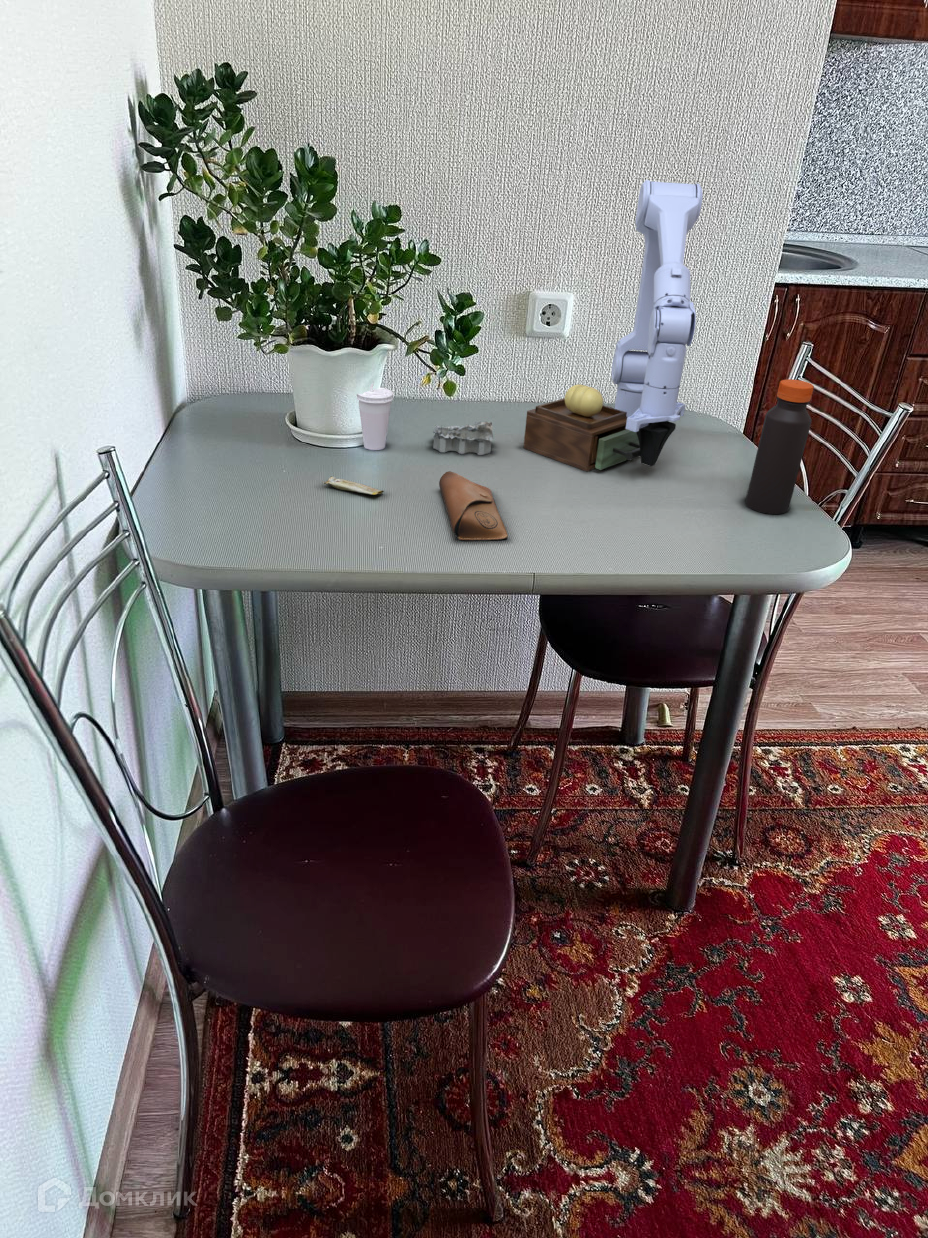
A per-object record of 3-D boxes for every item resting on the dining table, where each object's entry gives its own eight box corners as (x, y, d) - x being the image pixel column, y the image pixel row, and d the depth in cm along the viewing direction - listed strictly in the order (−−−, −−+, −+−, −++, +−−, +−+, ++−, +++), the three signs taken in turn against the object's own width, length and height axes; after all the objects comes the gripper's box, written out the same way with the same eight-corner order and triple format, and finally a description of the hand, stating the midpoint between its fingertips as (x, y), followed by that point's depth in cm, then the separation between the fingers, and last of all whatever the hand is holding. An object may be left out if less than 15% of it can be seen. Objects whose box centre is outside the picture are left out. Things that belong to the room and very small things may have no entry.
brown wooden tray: (572, 400, 165) (573, 395, 165) (626, 417, 159) (627, 412, 158) (535, 411, 159) (535, 406, 158) (589, 429, 152) (590, 424, 151)
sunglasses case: (512, 537, 128) (491, 500, 125) (469, 560, 129) (447, 524, 126) (490, 488, 144) (471, 453, 140) (451, 509, 144) (432, 475, 141)
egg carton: (493, 443, 164) (495, 421, 162) (490, 457, 157) (492, 435, 155) (435, 437, 164) (436, 415, 162) (429, 451, 158) (430, 429, 156)
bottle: (788, 502, 147) (820, 381, 137) (787, 518, 142) (820, 392, 131) (746, 495, 149) (774, 374, 139) (743, 510, 143) (772, 385, 133)
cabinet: (628, 455, 162) (634, 418, 158) (587, 471, 154) (592, 432, 150) (565, 434, 170) (570, 398, 167) (523, 448, 162) (526, 410, 159)
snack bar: (384, 489, 140) (376, 489, 137) (383, 499, 140) (374, 499, 138) (332, 475, 143) (322, 475, 140) (330, 485, 144) (320, 484, 141)
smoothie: (356, 439, 161) (356, 361, 154) (392, 440, 162) (393, 362, 154) (355, 452, 155) (355, 371, 148) (393, 453, 156) (394, 372, 149)
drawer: (657, 462, 157) (662, 433, 155) (620, 477, 150) (625, 447, 148) (577, 435, 168) (581, 407, 165) (539, 447, 160) (542, 419, 158)
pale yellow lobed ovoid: (573, 408, 162) (578, 380, 160) (605, 419, 158) (611, 390, 156) (556, 410, 159) (561, 381, 157) (589, 420, 155) (595, 391, 153)
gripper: (658, 398, 138) (644, 480, 145) (706, 382, 148) (691, 460, 155) (620, 387, 142) (608, 468, 149) (670, 372, 152) (656, 449, 159)
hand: (648, 463), depth 152 cm, fingers closed, pressing on drawer
